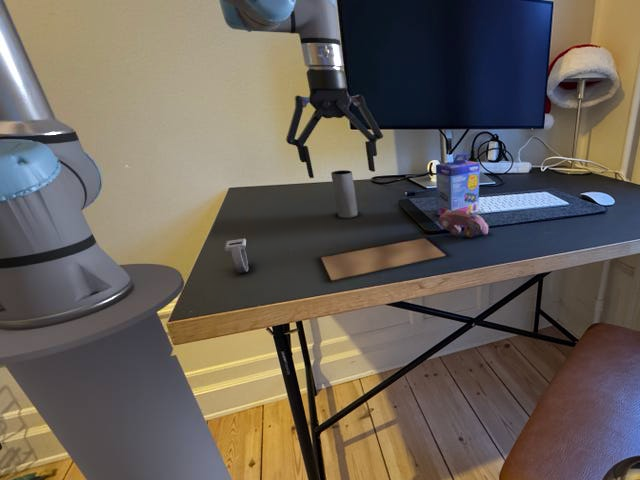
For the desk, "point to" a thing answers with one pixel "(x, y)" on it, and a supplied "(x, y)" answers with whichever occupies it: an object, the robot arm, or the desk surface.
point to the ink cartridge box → (457, 185)
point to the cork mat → (379, 258)
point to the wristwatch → (238, 254)
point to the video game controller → (463, 222)
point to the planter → (344, 193)
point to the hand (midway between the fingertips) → (342, 173)
